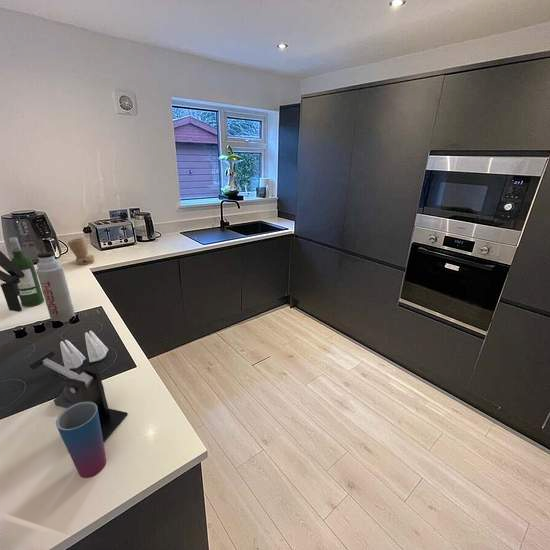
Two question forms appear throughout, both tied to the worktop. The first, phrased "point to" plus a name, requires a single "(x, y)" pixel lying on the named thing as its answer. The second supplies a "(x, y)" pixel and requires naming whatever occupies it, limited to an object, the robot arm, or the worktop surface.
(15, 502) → the worktop surface
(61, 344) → the shaker set
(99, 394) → the bracket
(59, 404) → the button housing
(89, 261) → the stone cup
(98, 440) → the cup
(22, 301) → the wine bottle
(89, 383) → the toaster lever
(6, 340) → the worktop surface
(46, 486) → the worktop surface
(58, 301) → the thermos bottle
